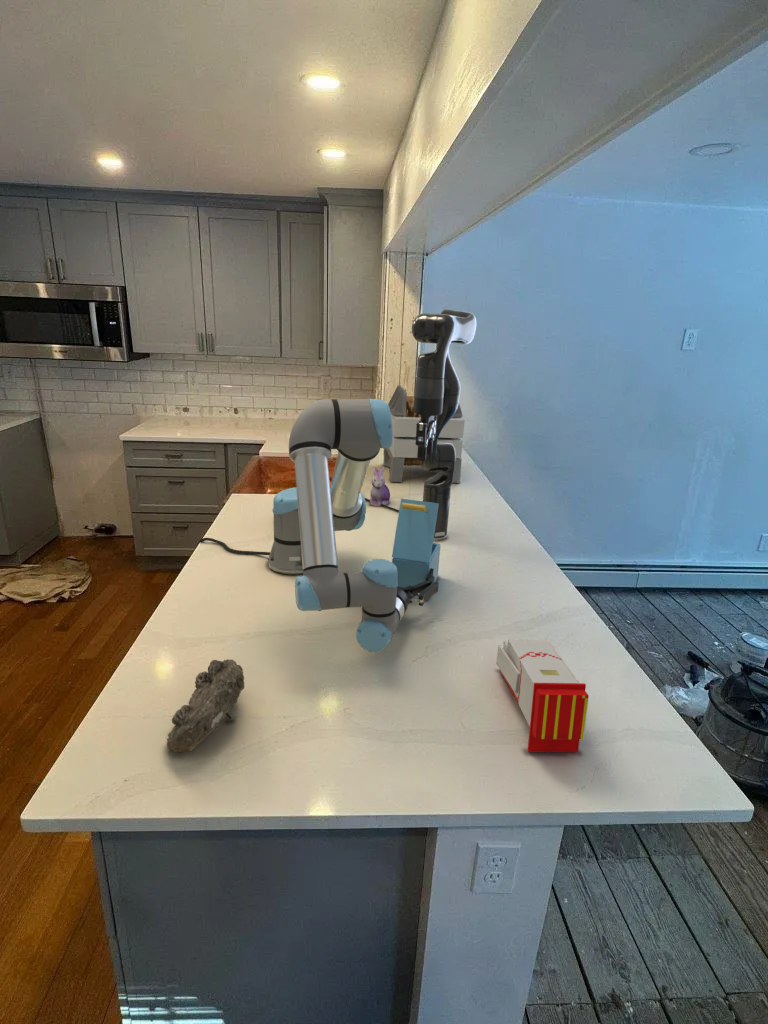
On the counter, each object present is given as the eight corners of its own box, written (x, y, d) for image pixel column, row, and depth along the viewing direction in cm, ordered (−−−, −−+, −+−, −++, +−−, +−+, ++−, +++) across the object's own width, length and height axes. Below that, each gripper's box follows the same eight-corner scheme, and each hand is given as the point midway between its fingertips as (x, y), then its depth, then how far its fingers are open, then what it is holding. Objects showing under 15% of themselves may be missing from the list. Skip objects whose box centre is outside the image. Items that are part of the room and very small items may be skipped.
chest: (404, 571, 172) (406, 538, 168) (437, 576, 169) (440, 543, 165) (390, 593, 158) (392, 559, 154) (426, 600, 155) (429, 565, 151)
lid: (401, 498, 155) (395, 495, 147) (438, 503, 153) (434, 500, 145) (392, 557, 154) (385, 556, 146) (429, 563, 152) (424, 562, 144)
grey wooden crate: (382, 463, 289) (386, 382, 275) (445, 464, 293) (451, 384, 279) (390, 482, 257) (394, 392, 243) (460, 483, 261) (468, 394, 247)
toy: (545, 622, 128) (598, 691, 98) (539, 677, 130) (589, 759, 101) (491, 621, 127) (529, 690, 98) (487, 676, 130) (522, 759, 101)
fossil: (192, 660, 117) (244, 628, 112) (224, 691, 120) (276, 661, 115) (142, 746, 98) (202, 712, 93) (182, 779, 101) (242, 748, 96)
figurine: (374, 508, 224) (376, 471, 219) (363, 500, 232) (364, 464, 227) (395, 505, 228) (397, 469, 223) (384, 497, 237) (385, 462, 231)
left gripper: (345, 612, 141) (372, 575, 161) (435, 629, 135) (452, 588, 155) (345, 585, 138) (373, 551, 158) (437, 601, 132) (454, 564, 152)
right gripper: (437, 400, 139) (432, 465, 145) (448, 393, 152) (443, 453, 158) (408, 397, 141) (404, 462, 147) (421, 390, 154) (417, 450, 160)
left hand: (412, 569), depth 157 cm, fingers closed on chest, 10 cm apart
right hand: (424, 457), depth 152 cm, fingers open, 7 cm apart
